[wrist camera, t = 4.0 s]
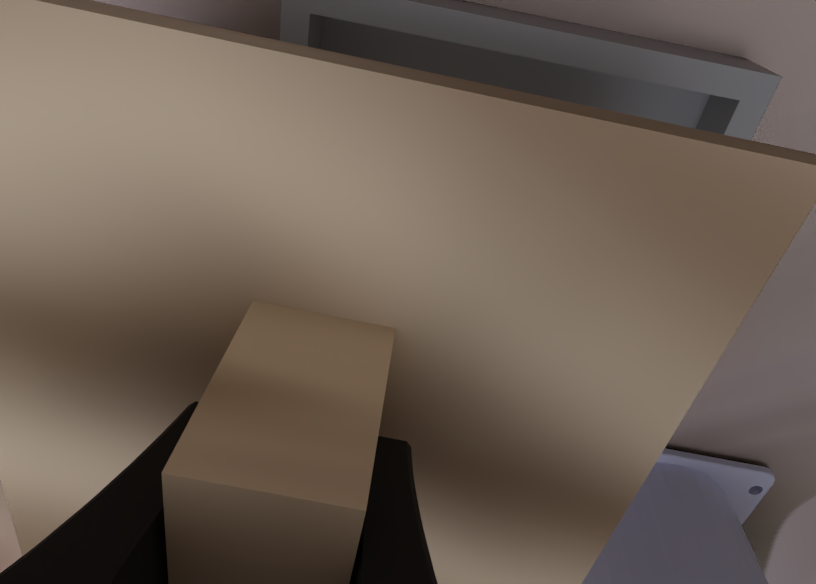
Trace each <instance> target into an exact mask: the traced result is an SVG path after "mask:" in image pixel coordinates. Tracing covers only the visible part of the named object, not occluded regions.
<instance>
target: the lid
mask: <svg viewBox="0 0 816 584" xmlns="http://www.w3.org/2000/svg"><path fill="white" fill-rule="evenodd" d="M815 203H816V155H815V154H812V153H807V152H803V151H798V150H793V149H789V148H784V147H779V146H774V145H770V144H765V143H760V142H756V141H751V140H746V139H741V138H737V137H732V136H727V135H723V134H718V133H713V132H708V131H704V130H699V129H694V128H690V127H685V126H680V125H675V124H671V123H666V122H661V121H657V120H652V119H647V118H642V117H638V116H633V115H628V114H624V113H619V112H614V111H609V110H605V109H600V108H595V107H591V106H586V105H581V104H576V103H572V102H567V101H562V100H558V99H553V98H548V97H543V96H539V95H534V94H529V93H525V92H520V91H515V90H511V89H506V88H501V87H496V86H492V85H487V84H482V83H478V82H473V81H468V80H463V79H459V78H454V77H449V76H445V75H440V74H435V73H430V72H426V71H421V70H416V69H412V68H407V67H402V66H397V65H393V64H388V63H383V62H379V61H374V60H369V59H364V58H360V57H355V56H350V55H346V54H341V53H336V52H331V51H327V50H322V49H317V48H313V47H308V46H303V45H298V44H294V43H289V42H284V41H280V40H275V39H270V38H265V37H261V36H256V35H251V34H247V33H242V32H237V31H233V30H228V29H223V28H218V27H214V26H209V25H204V24H200V23H195V22H190V21H185V20H181V19H176V18H171V17H167V16H162V15H157V14H152V13H148V12H143V11H138V10H134V9H129V8H124V7H119V6H115V5H110V4H105V3H101V2H96V1H91V0H0V480H1V483H2V486H3V490H4V493H5V497H6V500H7V504H8V507H9V511H10V514H11V517H12V521H13V524H14V528H15V531H16V535H17V538H18V542H19V545H20V548H21V552H22V555H25V554H26V553H27V552H29V551H30V550H31V549H32V548H34V547H35V546H36V545H37V544H39V543H40V542H41V541H42V540H43V539H45V538H46V537H47V536H48V535H49V534H51V533H52V532H53V531H54V530H55V529H57V528H58V527H59V526H60V525H61V524H63V523H64V522H65V521H66V520H67V519H69V518H70V517H71V516H72V515H73V514H75V513H76V512H77V511H78V510H79V509H81V508H82V507H83V506H84V505H85V504H87V503H88V502H89V501H90V500H91V499H92V498H93V497H95V496H96V495H97V494H98V493H99V492H100V491H101V490H102V489H103V488H104V487H105V486H107V485H108V484H109V483H110V482H111V481H112V480H113V479H114V478H115V477H116V476H118V475H119V474H120V473H121V472H122V471H123V470H124V469H125V468H126V467H127V466H129V465H130V464H131V463H132V462H133V461H134V460H135V459H136V458H137V457H138V456H139V455H140V454H141V453H142V452H143V451H144V450H145V449H146V448H147V447H148V446H149V445H150V444H151V443H152V442H153V441H154V440H155V439H156V438H158V437H159V436H160V435H161V434H162V433H163V431H164V430H165V429H166V428H167V427H168V426H169V425H170V424H171V423H172V422H173V421H174V420H175V419H176V418H177V417H178V416H179V415H180V414H181V413H182V412H183V411H184V410H185V409H186V408H187V407H188V405H190V404H192V403H193V402H195V401H197V402H199V403H198V405H197V407H196V409H195V411H194V413H193V414H192V416H191V418H190V420H189V422H188V424H187V426H186V428H185V430H184V431H183V433H182V435H181V437H180V439H179V441H178V443H177V445H176V447H175V448H174V450H173V452H172V454H171V456H170V458H169V460H168V462H167V463H166V465H165V467H164V469H163V471H162V473H161V474H162V489H163V505H164V521H165V536H166V552H167V568H168V583H169V584H349V583H350V578H351V574H352V570H353V565H354V561H355V557H356V552H357V548H358V544H359V540H360V535H361V531H362V527H363V522H364V518H365V514H366V509H367V503H368V497H369V490H370V484H371V478H372V472H373V465H374V459H375V453H376V447H377V440H378V436H382V437H387V438H393V439H398V440H403V441H407V442H408V444H409V445H410V446H411V453H412V466H413V475H414V482H415V488H416V494H417V500H418V505H419V510H420V515H421V520H422V525H423V529H424V533H425V537H426V541H427V545H428V549H429V553H430V557H431V561H432V565H433V569H434V573H435V576H436V580H437V583H438V584H582V582H583V580H584V579H585V577H586V576H587V574H588V572H589V571H590V569H591V567H592V566H593V564H594V563H595V561H596V559H597V558H598V556H599V554H600V553H601V551H602V549H603V548H604V546H605V545H606V543H607V541H608V540H609V538H610V536H611V535H612V533H613V532H614V530H615V528H616V527H617V525H618V523H619V522H620V520H621V519H622V517H623V515H624V514H625V512H626V510H627V509H628V507H629V506H630V504H631V502H632V501H633V499H634V497H635V496H636V494H637V493H638V491H639V489H640V488H641V486H642V484H643V483H644V481H645V480H646V478H647V476H648V475H649V473H650V471H651V470H652V468H653V466H654V465H655V463H656V462H657V460H658V458H659V457H660V455H661V453H662V452H663V450H664V449H665V447H666V445H667V444H668V442H669V440H670V439H671V437H672V436H673V434H674V432H675V431H676V429H677V427H678V426H679V424H680V423H681V421H682V419H683V418H684V416H685V414H686V413H687V411H688V410H689V408H690V406H691V405H692V403H693V401H694V400H695V398H696V397H697V395H698V393H699V392H700V390H701V388H702V387H703V385H704V383H705V382H706V380H707V379H708V377H709V375H710V374H711V372H712V370H713V369H714V367H715V366H716V364H717V362H718V361H719V359H720V357H721V356H722V354H723V353H724V351H725V349H726V348H727V346H728V344H729V343H730V341H731V340H732V338H733V336H734V335H735V333H736V331H737V330H738V328H739V327H740V325H741V323H742V322H743V320H744V318H745V317H746V315H747V314H748V312H749V310H750V309H751V307H752V305H753V304H754V302H755V300H756V299H757V297H758V296H759V294H760V292H761V291H762V289H763V287H764V286H765V284H766V283H767V281H768V279H769V278H770V276H771V274H772V273H773V271H774V270H775V268H776V266H777V265H778V263H779V261H780V260H781V258H782V257H783V255H784V253H785V252H786V250H787V248H788V247H789V245H790V244H791V242H792V240H793V239H794V237H795V235H796V234H797V232H798V231H799V229H800V227H801V226H802V224H803V222H804V221H805V219H806V217H807V216H808V214H809V213H810V211H811V209H812V208H813V206H814V204H815Z"/></svg>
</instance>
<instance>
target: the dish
mask: <svg viewBox="0 0 816 584" xmlns="http://www.w3.org/2000/svg"><path fill="white" fill-rule="evenodd" d="M279 40H280V41H284V42H289V43H294V44H298V45H303V46H308V47H313V48H317V49H322V50H327V51H331V52H336V53H341V54H346V55H350V56H355V57H360V58H364V59H369V60H374V61H379V62H383V63H388V64H393V65H397V66H402V67H407V68H412V69H416V70H421V71H426V72H430V73H435V74H440V75H445V76H449V77H454V78H459V79H463V80H468V81H473V82H478V83H482V84H487V85H492V86H496V87H501V88H506V89H511V90H515V91H520V92H525V93H529V94H534V95H539V96H543V97H548V98H553V99H558V100H562V101H567V102H572V103H576V104H581V105H586V106H591V107H595V108H600V109H605V110H609V111H614V112H619V113H624V114H628V115H633V116H638V117H642V118H647V119H652V120H657V121H661V122H666V123H671V124H675V125H680V126H685V127H690V128H694V129H699V130H704V131H708V132H713V133H718V134H723V135H727V136H732V137H737V138H741V139H746V140H751V139H752V137H753V135H754V133H755V131H756V129H757V127H758V125H759V123H760V121H761V119H762V117H763V115H764V113H765V111H766V108H767V106H768V104H769V102H770V100H771V98H772V96H773V94H774V92H775V90H776V88H777V86H778V84H779V82H780V80H781V78H782V76H780V75H778V74H776V73H774V72H772V71H770V70H768V69H766V68H764V67H762V66H760V65H758V64H756V63H754V62H752V61H750V60H748V59H746V58H741V57H736V56H732V55H727V54H722V53H717V52H712V51H707V50H702V49H697V48H692V47H688V46H683V45H678V44H673V43H668V42H663V41H658V40H653V39H648V38H643V37H639V36H634V35H629V34H624V33H619V32H614V31H609V30H604V29H599V28H595V27H590V26H585V25H580V24H575V23H570V22H565V21H560V20H555V19H550V18H546V17H541V16H536V15H531V14H526V13H521V12H516V11H511V10H506V9H502V8H497V7H492V6H487V5H482V4H477V3H472V2H467V1H462V0H281V15H280V33H279Z"/></svg>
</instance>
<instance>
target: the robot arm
mask: <svg viewBox="0 0 816 584" xmlns="http://www.w3.org/2000/svg"><path fill="white" fill-rule="evenodd" d="M198 403H199V402H197V401H195V402H193V403H192V404H190V405H188V407H187V408H186V409H185V410H184V411H183V412H182V413H181V414H180V415H179V416H178V417H177V418H176V419H175V420H174V421H173V422H172V423H171V424H170V425H169V426H168V427H167V428H166V429H165V430H164V431H163V433H162V434H161V435H160V436H159V437H158V438H156V439H155V440H154V441H153V442H152V443H151V444H150V445H149V446H148V447H147V448H146V449H145V450H144V451H143V452H142V453H141V454H140V455H139V456H138V457H137V458H136V459H135V460H134V461H133V462H132V463H131V464H130V465H129V466H127V467H126V468H125V469H124V470H123V471H122V472H121V473H120V474H119V475H118V476H116V477H115V478H114V479H113V480H112V481H111V482H110V483H109V484H108V485H107V486H105V487H104V488H103V489H102V490H101V491H100V492H99V493H98V494H97V495H96V496H95V497H93V498H92V499H91V500H90V501H89V502H88V503H87V504H85V505H84V506H83V507H82V508H81V509H79V510H78V511H77V512H76V513H75V514H73V515H72V516H71V517H70V518H69V519H67V520H66V521H65V522H64V523H63V524H61V525H60V526H59V527H58V528H57V529H55V530H54V531H53V532H52V533H51V534H49V535H48V536H47V537H46V538H45V539H43V540H42V541H41V542H40V543H39V544H37V545H36V546H35V547H34V548H32V549H31V550H30V551H29V552H27V553H26V554H25V555H23V556H22V557H21V558H20V559H18V560H17V561H16V562H15V563H13V564H12V565H11V566H9V567H8V568H7V569H5V570H4V571H3V572H1V573H0V584H169V583H168V568H167V552H166V536H165V521H164V505H163V489H162V474H161V473H162V471H163V469H164V467H165V465H166V463H167V462H168V460H169V458H170V456H171V454H172V452H173V450H174V448H175V447H176V445H177V443H178V441H179V439H180V437H181V435H182V433H183V431H184V430H185V428H186V426H187V424H188V422H189V420H190V418H191V416H192V414H193V413H194V411H195V409H196V407H197V405H198ZM774 481H775V477H774V475H773V473H772V472H771V470H770V469H769V468H766V467H763V466H757V465H752V464H747V463H741V462H736V461H731V460H725V459H720V458H714V457H709V456H704V455H698V454H693V453H687V452H682V451H677V450H671V449H666V448H665V449H664V450H663V452H662V453H661V455H660V457H659V458H658V460H657V462H656V463H655V465H654V466H653V468H652V470H651V471H650V473H649V475H648V476H647V478H646V480H645V481H644V483H643V484H642V486H641V488H640V489H639V491H638V493H637V494H636V496H635V497H634V499H633V501H632V502H631V504H630V506H629V507H628V509H627V510H626V512H625V514H624V515H623V517H622V519H621V520H620V522H619V523H618V525H617V527H616V528H615V530H614V532H613V533H612V535H611V536H610V538H609V540H608V541H607V543H606V545H605V546H604V548H603V549H602V551H601V553H600V554H599V556H598V558H597V559H596V561H595V563H594V564H593V566H592V567H591V569H590V571H589V572H588V574H587V576H586V577H585V579H584V580H583V582H582V584H768V582H767V580H766V578H765V576H764V574H763V571H762V569H761V567H760V565H759V563H758V560H757V558H756V556H755V554H754V552H753V549H752V547H751V545H750V543H749V541H748V539H747V536H746V534H745V532H744V530H743V528H742V525H743V523H744V522H745V521H746V519H747V518H748V517H749V515H750V514H751V513H752V511H753V510H754V509H755V507H756V506H757V505H758V503H759V502H760V501H761V499H762V498H763V497H764V495H765V494H766V493H767V491H768V490H769V489H770V487H771V486H772V485H773V484H774ZM349 584H438V583H437V580H436V576H435V573H434V569H433V565H432V561H431V557H430V553H429V549H428V545H427V541H426V537H425V533H424V529H423V525H422V520H421V515H420V510H419V505H418V500H417V494H416V488H415V482H414V475H413V466H412V453H411V446H410V445H409V444H408V442H407V441H403V440H398V439H393V438H387V437H382V436H378V440H377V447H376V453H375V459H374V465H373V472H372V478H371V484H370V490H369V497H368V503H367V509H366V514H365V518H364V522H363V527H362V531H361V535H360V540H359V544H358V548H357V552H356V557H355V561H354V565H353V570H352V574H351V578H350V583H349Z"/></svg>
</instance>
